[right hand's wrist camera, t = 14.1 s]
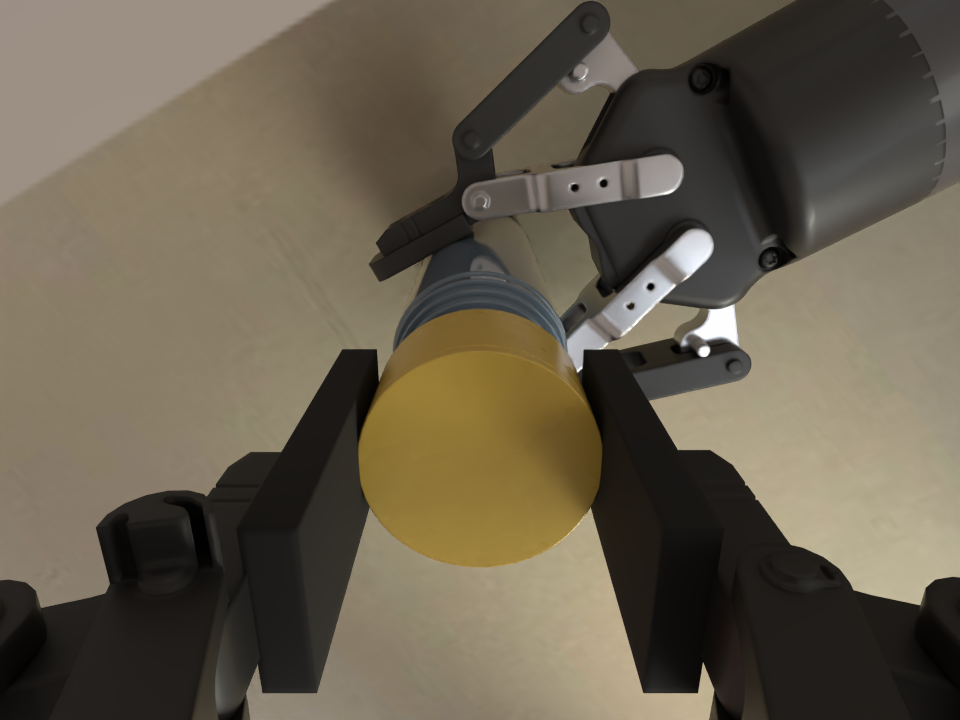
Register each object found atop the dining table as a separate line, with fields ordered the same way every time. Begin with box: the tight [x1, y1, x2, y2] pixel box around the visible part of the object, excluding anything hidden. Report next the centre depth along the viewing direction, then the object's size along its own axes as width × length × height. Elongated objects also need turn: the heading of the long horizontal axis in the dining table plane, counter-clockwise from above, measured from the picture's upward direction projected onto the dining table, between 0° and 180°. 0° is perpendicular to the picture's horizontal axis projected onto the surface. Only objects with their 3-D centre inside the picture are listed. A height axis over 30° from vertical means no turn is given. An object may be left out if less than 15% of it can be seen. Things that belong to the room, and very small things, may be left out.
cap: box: [358, 309, 603, 567], centre depth 13 cm, size 5×5×3 cm
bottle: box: [393, 216, 568, 353], centre depth 21 cm, size 5×5×18 cm
